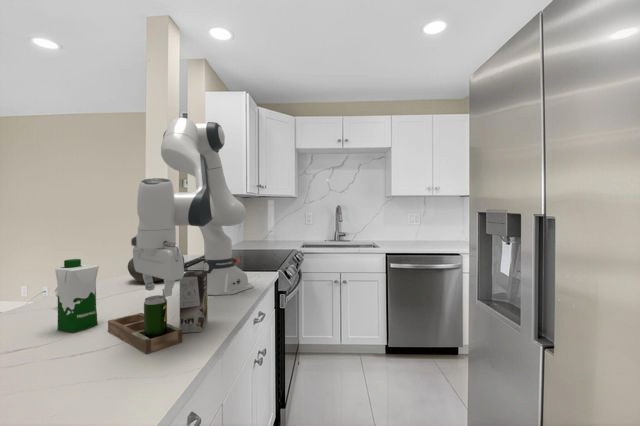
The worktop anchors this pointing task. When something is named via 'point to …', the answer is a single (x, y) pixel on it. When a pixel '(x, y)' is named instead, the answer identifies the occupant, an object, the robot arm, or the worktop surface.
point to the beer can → (155, 316)
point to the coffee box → (193, 301)
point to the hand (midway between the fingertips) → (158, 292)
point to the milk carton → (76, 296)
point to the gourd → (138, 275)
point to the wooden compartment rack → (142, 333)
